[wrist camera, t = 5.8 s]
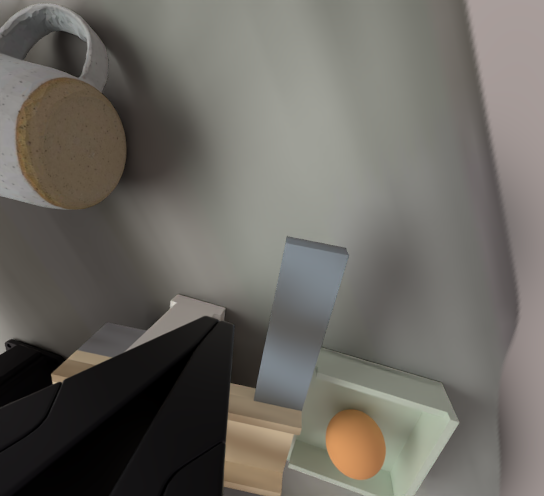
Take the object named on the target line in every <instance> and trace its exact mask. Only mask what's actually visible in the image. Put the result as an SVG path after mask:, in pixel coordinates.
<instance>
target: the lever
mask: <svg viewBox="0 0 544 496" xmlns="http://www.w3.org/2000/svg"><path fill="white" fill-rule="evenodd" d="M348 257H349V254H348V252H347V250H346V248H344V247H339V246H333V245H328V244H323V243H318V242H313V241H308V240H303V239H298V238H293V237H288V236H287V239H286V244H285V249H284V254H283V259H282V263H281V268H280V273H279V278H278V283H277V288H276V293H275V297H274V302H273V307H272V312H271V317H270V322H269V327H268V332H267V336H266V341H265V346H264V351H263V356H262V361H261V366H260V370H259V375H258V380H257V385H256V388H251V387H247V386H242V385H237V384H233V383H230V396H229V409H228V423H227V436H226V452H225V466H224V487H229V488H233V489H238V490H242V491H246V492H251V493H255V494H260V495H264V496H281V490H282V473H283V470H284V466H285V463H286V460H287V457H288V453H289V450H290V447H291V443H292V440H293V437H294V434H295V435H299V436H300V433H301V429H302V409H303V405H304V402H305V399H306V395H307V392H308V389H309V385H310V382H311V379H312V376H313V372H314V369H315V366H316V362H317V359H318V356H319V353H320V349H321V346H322V343H323V339H324V336H325V333H326V329H327V326H328V323H329V320H330V316H331V313H332V310H333V306H334V303H335V300H336V297H337V293H338V290H339V287H340V283H341V280H342V277H343V274H344V270H345V267H346V264H347V260H348ZM145 332H146V330H141V329H137V328H132V327H127V326H122V325H118V324H113V323H108V322H107V323H106V324H105V325H104V326H102V327H101V328H100V329H99V330H98V331H97V332H96V333H95V334H94V335H93V336H92V337H91V338H89V339H88V340H87V341H86V342H85V343H84V344H83V345H82V346H81V347H80V348H79V349H78V350H76V351H75V352H74V353H73V354H72V355H71V356H70V357H69V358H68V359H67V360H66V361H65V362H63V363H62V364H61V365H60V366H59V367H58V368H57V369H56V370H55V371H54V372H53V373H52V374H51V376H52V382H53V384H55V383H57V382H63V380H64V379H66V378H68V377H71V376H73V375H75V374H77V373H79V372H82V371H84V370H86V369H88V368H90V367H93V366H95V365H97V364H99V363H101V362H104V361H106V360H108V359H110V358H112V357H115V356H117V355H119V354H121V353H123V352H125V351H126V350H127V349H128V348H129V347H130V346H131V345H132V344H133V343H134V342H136V341H137V340H138V339H139V338H140V337H141V336H142V335H143V334H144V333H145Z"/></svg>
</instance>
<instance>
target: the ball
mask: <svg viewBox="0 0 544 496" xmlns="http://www.w3.org/2000/svg"><path fill="white" fill-rule="evenodd" d="M326 447H327V451H328V454H329V457H330V459H331V460H332V462H333V464H334V465H335V466H336V468H337V469H338V470H339V471H340V472H341V473H343V474H344V475H346V476H348V477H350V478H352V479H356V480H365V479H369V478H371V477H373V476H375V475H376V474H377V473H378V472H379V471H380V469H381V468H382V466H383V464H384V460H385V455H386V446H385V440H384V437H383V434H382V432H381V430H380V428H379V426H378V425H377V423H376V422H375V421H374V420H373V419H372V418H371V417H370V416H368V415H367V414H365V413H364V412H362V411H359V410H355V409H347V410H343V411H340V412H338V413H337V414H336V415H335V416H334V417H333V418H332V419H331V420H330V422H329V424H328V427H327V430H326Z"/></svg>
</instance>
